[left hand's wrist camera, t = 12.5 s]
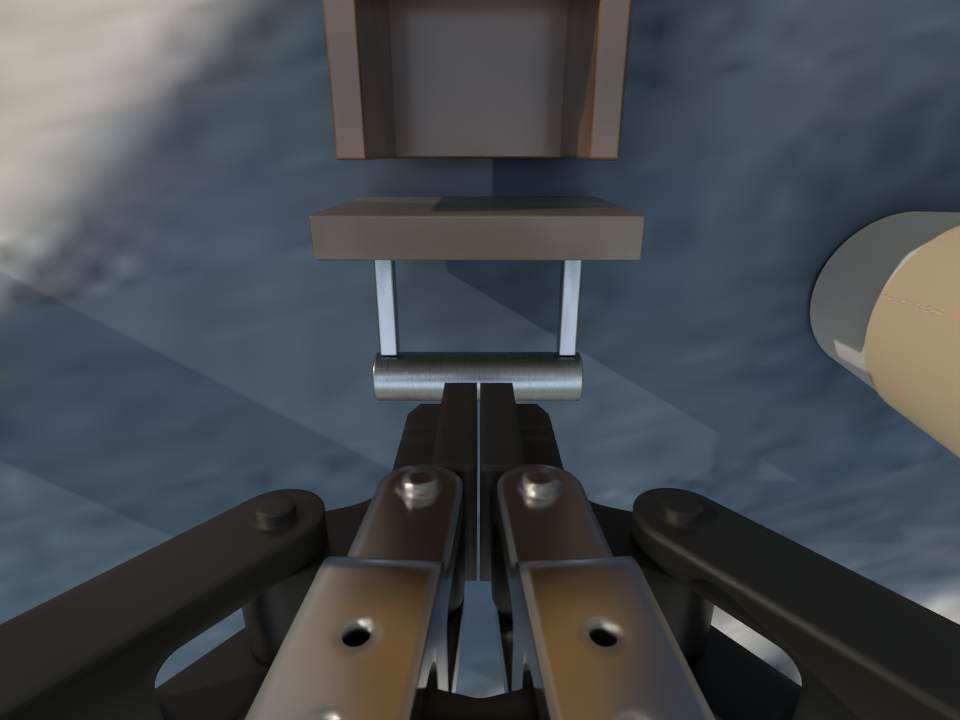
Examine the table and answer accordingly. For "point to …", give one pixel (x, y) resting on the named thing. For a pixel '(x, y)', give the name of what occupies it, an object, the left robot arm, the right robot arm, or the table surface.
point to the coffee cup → (899, 316)
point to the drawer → (477, 134)
